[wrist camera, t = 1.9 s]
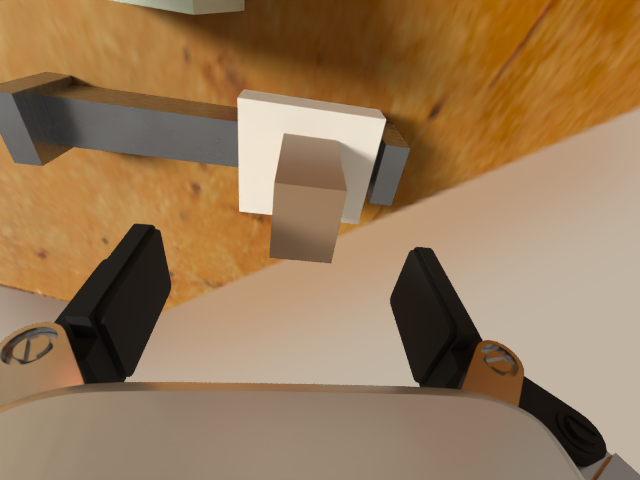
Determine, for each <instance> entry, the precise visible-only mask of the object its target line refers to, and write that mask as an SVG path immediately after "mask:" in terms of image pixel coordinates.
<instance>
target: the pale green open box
mask: <svg viewBox="0 0 640 480" xmlns="http://www.w3.org/2000/svg"><path fill="white" fill-rule="evenodd" d="M112 1H118V2H124V3H129V4H135V5H141V6H146V7H152V8H158V9H164V10H169V11H175V12H181V13H186V14H192V15H197V14H210V13H222V12H235V11H245V0H112Z"/></svg>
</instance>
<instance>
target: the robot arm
mask: <svg viewBox="0 0 640 480" xmlns="http://www.w3.org/2000/svg"><path fill="white" fill-rule="evenodd" d="M170 290H171V280H170V275H169V271H168V266H167V261H166V256H165V251H164V246H163V241H162V237H161V232H160V230H157V229H155V227H154V226H153V225H146V224H134V225H133V226H132V227H131V228H130V230H129V231H128V232H127V234H126V235H125V236H124V238H123V239H122V240H121V242H120V243H119V244H118V246H117V247H116V248H115V249H114V251H113V252H112V253H111V255H110V256H109V257H108V259H105V260H103V261H102V262H101V263H100V264H99V265H98V267H97V268H96V269H95V270H94V272H93V273H92V274H91V276H90V277H89V278H88V280H87V281H86V282H85V283H84V285H83V286H82V287H81V289H80V290H79V291H78V292H77V294H76V295H75V296H74V298H73V299H72V300H71V301H70V303H69V304H68V305H67V307H66V308H65V309H64V311H63V312H62V313H61V314H60V316H59V317H58V318H57V320H56V321H55V322H54V323H50V322H44V323H36V324H32V325H29V326H26V327H24V328H21V329H19V330H17V331H15V332H14V333H12V334H11V335H9V336H8V337H6V338H5V339H4V340H3V341H2V342H1V343H0V480H640V475H639V474H638V473H637V472H636V471H635V470H634V469H633V468H632V467H631V466H629V465H628V464H627V463H626V462H625V461H624V460H623V459H622V458H621V457H620V456H618V455H617V454H616V453H615V454H613V455H611V454H610V453H608V452H607V450H606V444H605V442H604V440H603V437H602V435H601V434H600V433H599V431H598V430H597V428H596V427H595V426H594V425H593V424H592V423H591V422H590V421H589V420H588V419H587V418H586V417H584V416H583V415H582V414H580V413H579V412H578V411H576V410H575V409H573V408H572V407H570V406H569V405H567V404H566V403H564V402H563V401H561V400H560V399H558V398H557V397H555V396H553V395H552V394H550V393H549V392H547V391H546V390H544V389H543V388H541V387H540V386H538V385H537V384H535V383H534V382H532V381H531V380H529V379H528V378H526V377H524V368H523V366H522V363H521V361H520V360H519V358H518V357H517V356H516V355H515V354H514V353H513V352H512V351H511V350H510V349H509V348H507V347H506V346H504V345H502V344H500V343H498V342H495V341H490V340H485V341H483V340H482V339H481V337H480V335H479V333H478V331H477V329H476V327H475V326H474V324H473V322H472V320H471V318H470V316H469V315H468V313H467V311H466V309H465V307H464V306H463V304H462V302H461V300H460V299H459V297H458V295H457V293H456V291H455V290H454V288H453V286H452V284H451V282H450V280H449V279H448V277H447V275H446V273H445V271H444V270H443V268H442V266H441V264H440V263H439V261H438V259H437V257H436V255H435V254H434V252H433V250H432V249H431V248H423V247H416V248H415V249H414V250H411V251H410V252H409V254H408V256H407V259H406V261H405V263H404V266H403V268H402V271H401V273H400V275H399V278H398V281H397V283H396V285H395V287H394V290H393V292H392V295H391V298H390V304H391V307H392V311H393V314H394V317H395V320H396V324H397V326H398V330H399V333H400V336H401V340H402V343H403V346H404V349H405V352H406V355H407V359H408V361H409V365H410V368H411V372H412V375H413V378H414V380H415V381H416V382H418V383H419V385H420V387H405V386H367V385H366V386H365V385H322V384H321V385H319V384H267V383H265V384H264V383H196V382H193V383H192V382H124V381H125V379H126V377H130V376H132V374H133V373H134V371H135V368H136V366H137V364H138V362H139V360H140V358H141V355H142V353H143V351H144V349H145V346H146V344H147V342H148V340H149V337H150V335H151V333H152V331H153V329H154V326H155V324H156V322H157V320H158V318H159V315H160V313H161V311H162V309H163V307H164V304H165V302H166V300H167V298H168V295H169V293H170Z"/></svg>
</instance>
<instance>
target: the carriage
mask: <svg viewBox="0 0 640 480" xmlns="http://www.w3.org/2000/svg"><path fill="white" fill-rule="evenodd" d="M385 122H386V118H385V117H384V115H383V114H382V113H381V111H380V110H378V109H372V108H365V107H359V106H352V105H345V104H339V103H332V102H325V101H319V100H312V99H306V98H299V97H292V96H286V95H279V94H272V93H266V92H259V91H253V90H246V89H244V90H243V91H242V92H241V94H240V95H239V96H238V159H239V211H241V212H250V213H259V214H269V215H272V226H271V242H270V258H279V259H290V260H301V261H312V262H324V263H331V261H332V257H333V252H334V248H335V244H336V239H337V235H338V231H339V226H340V222H345V223H354V224H358V222H359V218H360V215H361V211H362V207H363V204H364V200H365V196H366V193H367V189H368V185H369V182H370V178H371V174H372V170H373V167H374V163H375V159H376V156H377V152H378V148H379V145H380V141H381V137H382V134H383V130H384V126H385Z"/></svg>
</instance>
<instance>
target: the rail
mask: <svg viewBox="0 0 640 480" xmlns="http://www.w3.org/2000/svg"><path fill="white" fill-rule="evenodd" d="M0 134H1V136H2V138H3V140H4V142H5V144H6V146H7V148H8V150H9V152H10V154H11V156H12V158H13V160H14V162H15V163H20V164H29V165H38V166H43V165H45V164H47V163H48V162H50V161H52V160H53V159H55V158H57V157H58V156H60V155H62V154H63V153H65V152H67V151H68V150H70V149H72V148H73V147H77V148H85V149H94V150H102V151H110V152H118V153H126V154H135V155H143V156H151V157H159V158H167V159H176V160H184V161H192V162H200V163H208V164H217V165H225V166H233V167H239V159H238V108H236V107H229V106H222V105H215V104H208V103H201V102H194V101H187V100H180V99H173V98H166V97H159V96H152V95H145V94H138V93H131V92H125V91H118V90H111V89H104V88H97V87H90V86H83V85H76V84H74V83H73V80H72V76H70V75H63V74H56V73H49V72H44V73H40V74H36V75H32V76H28V77H24V78H20V79H16V80H12V81H8V82H4V83H0ZM409 151H410V147H409V146H408V144H407V143H406V141H405V140H404V139H403V137H402V136H401V134H400V133H399V132H398V130H397V129H396V127H395V126H394V125H393V123H390V122H385V126H384V130H383V134H382V137H381V141H380V145H379V148H378V152H377V156H376V159H375V163H374V167H373V170H372V174H371V178H370V182H369V185H368V189H367V197H368V200H369V203H371V204H379V205H388V206H391V205H392V202H393V199H394V196H395V193H396V190H397V187H398V184H399V181H400V178H401V175H402V172H403V169H404V166H405V163H406V160H407V157H408V154H409Z"/></svg>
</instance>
